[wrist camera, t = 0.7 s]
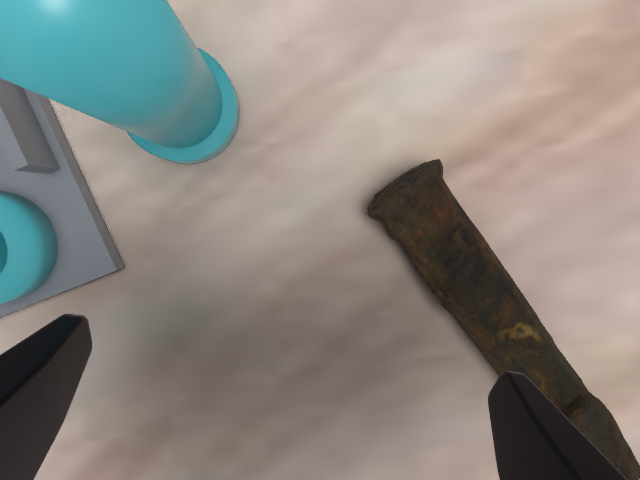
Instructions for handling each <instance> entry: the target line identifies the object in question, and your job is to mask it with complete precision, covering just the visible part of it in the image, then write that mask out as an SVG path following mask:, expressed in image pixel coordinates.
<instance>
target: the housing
mask: <svg viewBox="0 0 640 480" xmlns="http://www.w3.org/2000/svg"><path fill="white" fill-rule="evenodd" d="M122 268H124V265H123V262H122V260H121V258H120V256H119V254H118V251H117V249H116V247H115V245H114V243H113V240H112V238H111V236H110V234H109V232H108V229H107V227H106V225H105V223H104V221H103V219H102V216H101V214H100V212H99V210H98V208H97V205H96V203H95V201H94V199H93V197H92V194H91V192H90V190H89V188H88V186H87V183H86V181H85V179H84V177H83V175H82V173H81V170H80V168H79V166H78V164H77V162H76V159H75V157H74V155H73V153H72V151H71V148H70V146H69V144H68V142H67V140H66V137H65V135H64V133H63V131H62V129H61V126H60V124H59V122H58V120H57V118H56V116H55V113H54V111H53V109H52V107H51V105H50V102H49V100H48V98H47V97H44V96H42V95H40V94H37V93H35V92H33V91H30V90H28V89H25V88H23V87H21V86H18V85H16V84H14V83H11V82H9V81H6V80H4V79H2V78H0V317H2V316H5V315H7V314H10V313H12V312H15V311H17V310H20V309H22V308H25V307H27V306H30V305H32V304H35V303H37V302H40V301H42V300H44V299H47V298H49V297H52V296H54V295H57V294H59V293H62V292H64V291H67V290H69V289H72V288H74V287H77V286H79V285H82V284H84V283H87V282H89V281H92V280H94V279H97V278H99V277H102V276H104V275H107V274H109V273H112V272H114V271H117V270H119V269H122Z"/></svg>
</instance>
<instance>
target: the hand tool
mask: <svg viewBox="0 0 640 480" xmlns="http://www.w3.org/2000/svg"><path fill="white" fill-rule="evenodd" d="M367 210H368V211H367V212H368V215H369V216H370V217H371V218H373V219H375V220H377V221H380V222H382V223H384V224H385V225H386V228H387V231H388V234H389V236H390V237H391V238H392V239H394V240H396V241H399V242H400V243H401V244H402V246H403V247H404V249H405V252H406V253H407V254H408V256H409V257H410V258H411V260H412V261H413V262H414V265H415V267H416V269H417V270H418V271H419V272H420V273H421V274H422V275H423V276H424V277H425V279H426V281H427V283H428V285H429V287H430V288H431V290H432V291H433V293H434V292H437V293H438V295H439V296H440V298H441V300H442V303H443V306H444V307H445V308H446V309H447V310H448V311H449V312H450V313H452V314H453V315H454V316H455V317H456V318H457V319H458V321H459V322H460V324H461V325H462V326H463V327H464V329H465V330H466V331H467V333H468V334H469V335H470V337H471V338H472V339H473V341H474V342H475V343H476V344H477V346H478V347H479V348H480V349H481V351H482V352H483V353H484V355H485V356H486V357H487V359H488V360H489V362H490V363H491V365H492V366H493V367H494V369H495V370H496V371H497V372H498V374H499V375H501V373H502V372H504V371H513V372H520V373H523V374H524V375H526V376H527V377H528V378H529V379H530V380H531V381H532V382H533V384H534V385H535V386H536V387H537V388H538V389H539V390H540V391H541V392H542V393H543V394H544V395H545V396H546V397H547V398H548V399H549V400H550V401H551V402H552V403H553V404H554V405H555V406H556V407H557V408H558V409H559V410H560V411H561V412H562V413H563V414H564V415H565V416H566V417H567V418H568V420H569V421H570V422H571V423H572V424H573V425H574V426H575V427H576V428H577V429H578V430H579V431H580V432H581V433H582V434H583V435H584V436H585V437H586V438H587V439H588V440H589V441H590V442H591V443H592V444H593V445H594V446H595V447H596V448H597V449H598V450H599V451H600V452H601V453H602V454H603V455H604V457H605V458H606V459H607V460H608V461H609V462H610V463H611V464H612V465H613V466H614V467H615V468H616V469H617V470H618V471H619V472H620V473H621V474H622V475H623V476H624V477H625V478H626V479H627V480H639V479H640V465H639V463H638V462H637V460H636V458H635V456H634V454H633V452H632V450H631V448H630V447H629V445H628V444H627V442H626V441H625V439H624V437H623V435H622V433H621V431H620V429H619V427H618V425H617V423H616V421H615V419H614V418H613V416H612V414H611V413H610V412H609V410H608V409H607V408H606V406H605V405H604V404H603V403H602V402H601V401H600V400H599V399H598V398H596V397H595V396H593V395H592V394H591V393H590V392H589V391H588V390H587V388H586V387H585V385H584V384H583V382H582V380H581V378H580V377H579V376H578V374H577V373H576V372H575V371H574V369H573V368H572V367H571V365H570V364H569V363H568V361H567V360H566V358H565V357H564V356H563V354H562V353H561V352H560V351H559V349H558V348H557V346H556V345H555V343H554V341H553V339H552V337H551V336H550V334H549V333H548V332H547V330H546V329H545V327H544V326H543V324H542V323H541V322H540V320H539V318H538V316H537V315H536V313H535V312H534V310H533V308H532V307H531V306H530V304H529V303H528V301H527V300H526V298H525V297H524V296H523V294H522V293H521V291H520V290H519V288H518V287H517V285H516V284H515V282H514V281H513V279H512V278H511V276H510V275H509V274H508V272H507V271H506V270H505V268H504V267H503V265H502V264H501V262H500V261H499V259H498V258H497V256H496V255H495V254H494V252H493V251H492V250H491V248H490V246H489V245H488V243H487V242H486V240H485V239H484V237H483V236H482V235H481V233H480V232H479V231H478V229H477V228H476V227H475V225H474V224H473V223H472V221H471V220H470V219H469V217H468V216H467V215H466V213H465V212H464V210H463V209H462V207H461V206H460V205H459V203H458V202H457V200H456V198H455V197H454V196H453V194H452V193H451V191H450V190H449V188H448V186H447V185H446V183H445V181H444V179H443V166H442V163H441V161H440V160H439V159H437V160H432V161H430V162H424V163H423V164H421V165H419V166H417V167H415V168H413V169H411V170H410V171H408V172H406V173H405V174H403V175H401V176H400V177H399V178H397V179H396V180H394V181H393V182H392V183H390V184H389V185H387V186H386V187H385V188H384V189H383V190H381V191H380V192H379V193H377V194H376V195H375V197H374V200H373V201H372V202H371V203H370V204H369V206H368V208H367Z"/></svg>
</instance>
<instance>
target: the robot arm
mask: <svg viewBox="0 0 640 480" xmlns="http://www.w3.org/2000/svg"><path fill="white" fill-rule="evenodd" d="M91 350H92V339H91V333H90V328H89V323H88V319H87V318H86V317H85V316H82V315H75V314H64V315H62V316H60V317H59V318H57V319H55V320H54V321H52V322H51V323H49V324H48V325H46V326H45V327H43V328H41V329H40V330H38V331H37V332H35V333H34V334H32V335H31V336H29V337H28V338H26V339H24V340H23V341H21V342H20V343H18V344H17V345H15V346H14V347H12V348H10V349H9V350H7V351H6V352H4V353H3V354H1V355H0V480H34V478H35V476H36V474H37V472H38V470H39V468H40V466H41V464H42V463H43V461H44V459H45V457H46V455H47V453H48V451H49V449H50V447H51V445H52V444H53V442H54V440H55V438H56V436H57V434H58V432H59V430H60V428H61V426H62V424H63V422H64V419H65V417H66V415H67V412H68V410H69V407H70V405H71V402H72V400H73V397H74V394H75V392H76V389H77V387H78V384H79V382H80V379H81V377H82V374H83V371H84V369H85V366H86V364H87V361H88V359H89V356H90V353H91ZM488 406H489V413H490V420H491V427H492V434H493V441H494V449H495V456H496V462H497V468H498V473H499V478H500V480H627V479H626V478H625V477H624V476H623V475H622V474H621V473H620V472H619V471H618V470H617V469H616V468H615V467H614V466H613V465H612V464H611V463H610V462H609V461H608V460H607V459H606V458H605V457H604V455H603V454H602V453H601V452H600V451H599V450H598V449H597V448H596V447H595V446H594V445H593V444H592V443H591V442H590V441H589V440H588V439H587V438H586V437H585V436H584V435H583V434H582V433H581V432H580V431H579V430H578V429H577V428H576V427H575V426H574V425H573V424H572V423H571V422H570V421H569V420H568V418H567V417H566V416H565V415H564V414H563V413H562V412H561V411H560V410H559V409H558V408H557V407H556V406H555V405H554V404H553V403H552V402H551V401H550V400H549V399H548V398H547V397H546V396H545V395H544V394H543V393H542V392H541V391H540V390H539V389H538V388H537V387H536V386H535V385H534V384H533V382H532V381H531V380H530V379H529V378H528V377H527V376H526V375H524V374H523V373H520V372H513V371H504V372H502V373H501V375H500V376H499V378H498V380H497V381H496V383H495V384H494V386H493V388H492V389H491V391H490V393H489V397H488Z"/></svg>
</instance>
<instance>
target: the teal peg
mask: <svg viewBox="0 0 640 480" xmlns="http://www.w3.org/2000/svg"><path fill="white" fill-rule="evenodd" d="M0 78H2V79H4V80H6V81H9V82H11V83H14V84H16V85H18V86H21V87H23V88H25V89H28V90H30V91H33V92H35V93H37V94H40V95H42V96H44V97H47V98H49V99H52V100H54V101H56V102H59V103H61V104H63V105H66V106H68V107H71V108H73V109H75V110H78V111H80V112H82V113H85V114H87V115H90V116H92V117H94V118H97V119H99V120H101V121H104V122H106V123H109V124H111V125H113V126H116V127H118V128H120V129H123V130H125V131H127V133H128V134H129V135H130V137H131V138H132V139H133V140H134V141H135V142H136V143H137V144H138V145H139V146H140V147H141V148H143V149H144V150H146V151H147V152H149V153H151V154H153V155H155V156H158V157H161V158H164V159H167V160H170V161H173V162H177V163H183V164H194V163H200V162H204V161H207V160H209V159H211V158H213V157H215V156H217V155H218V154H219V153H221V152H222V151H223V150H224V149H225V148H226V147H227V146H228V144H229V143H230V142H231V140H232V139H233V137H234V135H235V132H236V130H237V126H238V122H239V103H238V99H237V95H236V93H235V90H234V88H233V86H232V84H231V82H230V80H229V78H228V77H227V75H226V73H225V71H224V70H223V68H222V67H221V66H220V64H219V63H218V62H217V61H216V60H215V59H214V58H213V57H211V56H210V55H209V54H207V53H206V52H204V51H203V50H201V49H199V48H197V47H196V46H195V45H194V43H193V41H192V40H191V38H190V37H189V35H188V33H187V32H186V30H185V29H184V27H183V25H182V24H181V22H180V21H179V19H178V17H177V16H176V14H175V13H174V11H173V9H172V8H171V6H170V5H169V3H168V1H167V0H0Z"/></svg>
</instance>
